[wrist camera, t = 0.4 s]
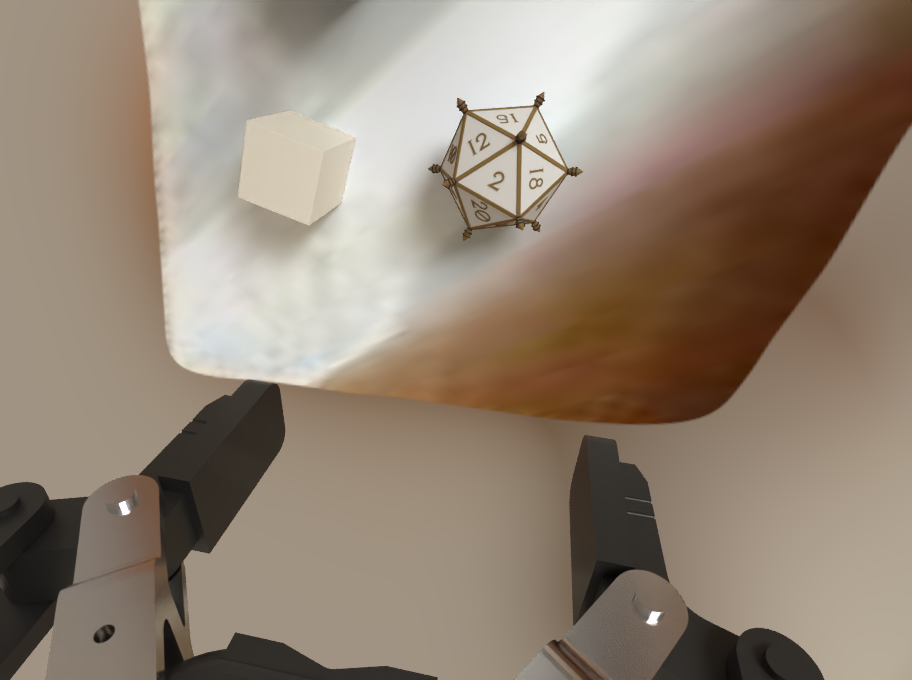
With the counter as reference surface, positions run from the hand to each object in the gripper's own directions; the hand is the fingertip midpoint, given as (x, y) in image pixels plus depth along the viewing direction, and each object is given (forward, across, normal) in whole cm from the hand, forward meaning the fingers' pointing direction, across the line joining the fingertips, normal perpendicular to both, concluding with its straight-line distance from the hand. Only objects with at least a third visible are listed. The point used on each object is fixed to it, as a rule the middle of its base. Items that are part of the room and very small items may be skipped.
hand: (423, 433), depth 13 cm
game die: (+27, 0, -2) cm, 27 cm away
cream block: (+27, +14, -1) cm, 30 cm away
